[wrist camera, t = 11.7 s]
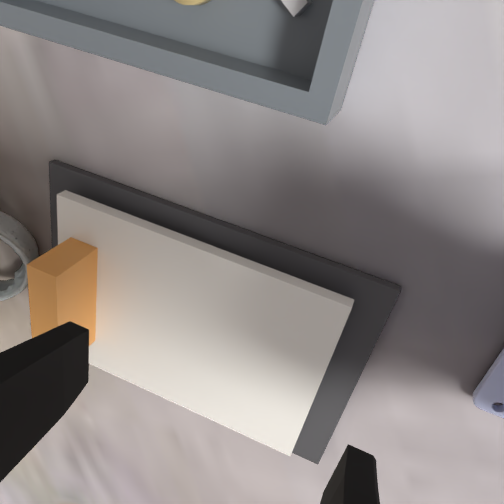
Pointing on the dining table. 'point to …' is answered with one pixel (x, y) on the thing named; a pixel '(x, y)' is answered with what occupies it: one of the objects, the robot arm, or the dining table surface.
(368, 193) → the dining table surface
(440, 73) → the dining table surface
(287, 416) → the lid
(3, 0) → the dark grey tray
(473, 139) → the dining table surface
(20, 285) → the ceramic mug
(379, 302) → the mat
